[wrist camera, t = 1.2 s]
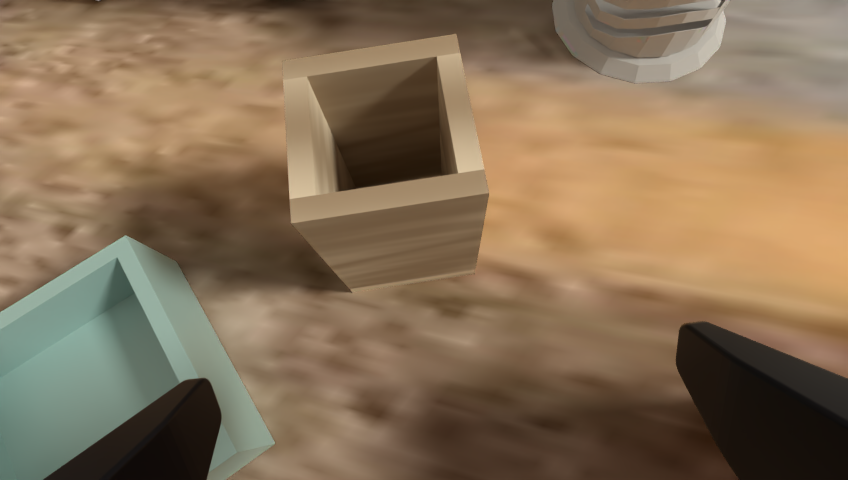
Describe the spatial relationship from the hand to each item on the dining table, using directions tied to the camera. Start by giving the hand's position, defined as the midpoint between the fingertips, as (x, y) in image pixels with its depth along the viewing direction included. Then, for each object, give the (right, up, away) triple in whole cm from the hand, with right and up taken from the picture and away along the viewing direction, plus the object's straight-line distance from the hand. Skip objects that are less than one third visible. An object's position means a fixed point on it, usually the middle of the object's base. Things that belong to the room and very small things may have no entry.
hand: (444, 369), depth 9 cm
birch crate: (-1, +3, +15) cm, 16 cm away
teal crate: (-14, -5, +13) cm, 20 cm away
